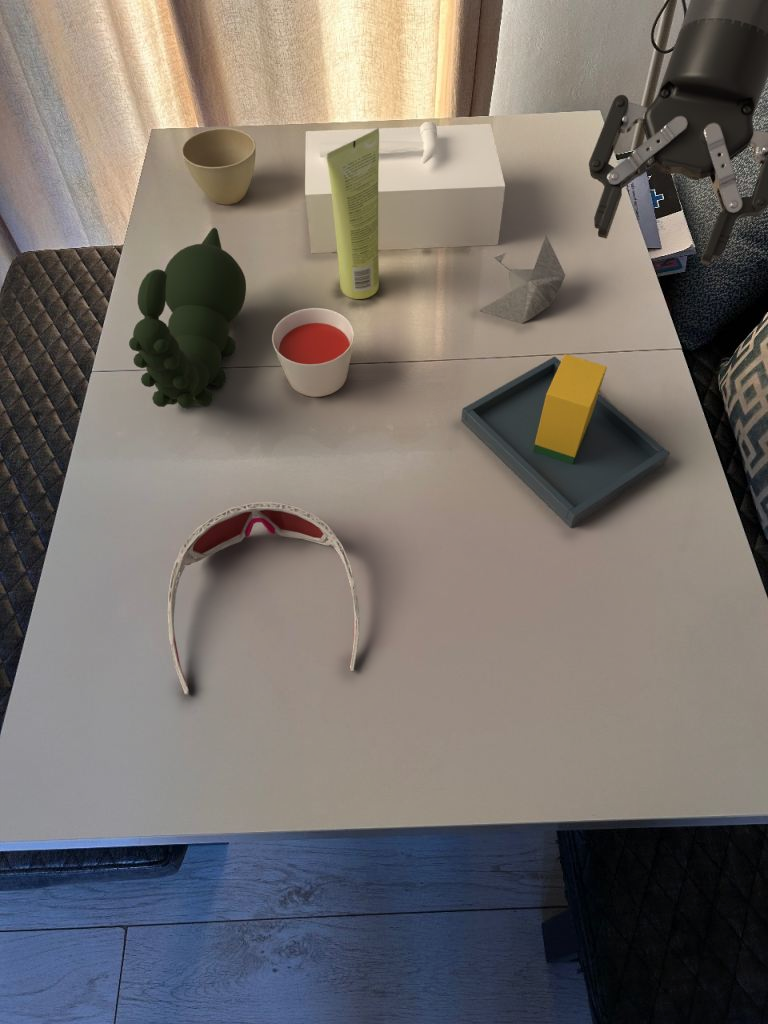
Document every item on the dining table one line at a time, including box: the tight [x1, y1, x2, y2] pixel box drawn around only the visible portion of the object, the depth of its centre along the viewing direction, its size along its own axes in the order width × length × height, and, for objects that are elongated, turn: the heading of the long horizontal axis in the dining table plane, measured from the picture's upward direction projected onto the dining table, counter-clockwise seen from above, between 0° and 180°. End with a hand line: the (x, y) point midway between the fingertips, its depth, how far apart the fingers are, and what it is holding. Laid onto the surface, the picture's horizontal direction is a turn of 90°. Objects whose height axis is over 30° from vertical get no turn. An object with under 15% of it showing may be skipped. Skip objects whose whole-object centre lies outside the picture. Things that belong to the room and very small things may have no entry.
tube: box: [327, 127, 380, 300], centre depth 90 cm, size 6×5×20 cm
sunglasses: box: [167, 501, 360, 695], centre depth 72 cm, size 17×17×5 cm
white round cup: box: [271, 307, 355, 398], centre depth 87 cm, size 9×9×6 cm
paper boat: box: [479, 234, 566, 324], centre depth 94 cm, size 12×6×9 cm
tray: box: [460, 356, 671, 529], centre depth 82 cm, size 18×14×2 cm
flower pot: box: [181, 127, 257, 206], centre depth 107 cm, size 10×10×7 cm
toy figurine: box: [128, 227, 247, 409], centre depth 84 cm, size 9×19×25 cm
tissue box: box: [304, 121, 506, 254], centre depth 102 cm, size 14×25×11 cm, turn 93°
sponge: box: [533, 353, 608, 464], centre depth 79 cm, size 4×6×9 cm
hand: (652, 249), depth 63 cm, fingers open, 8 cm apart
